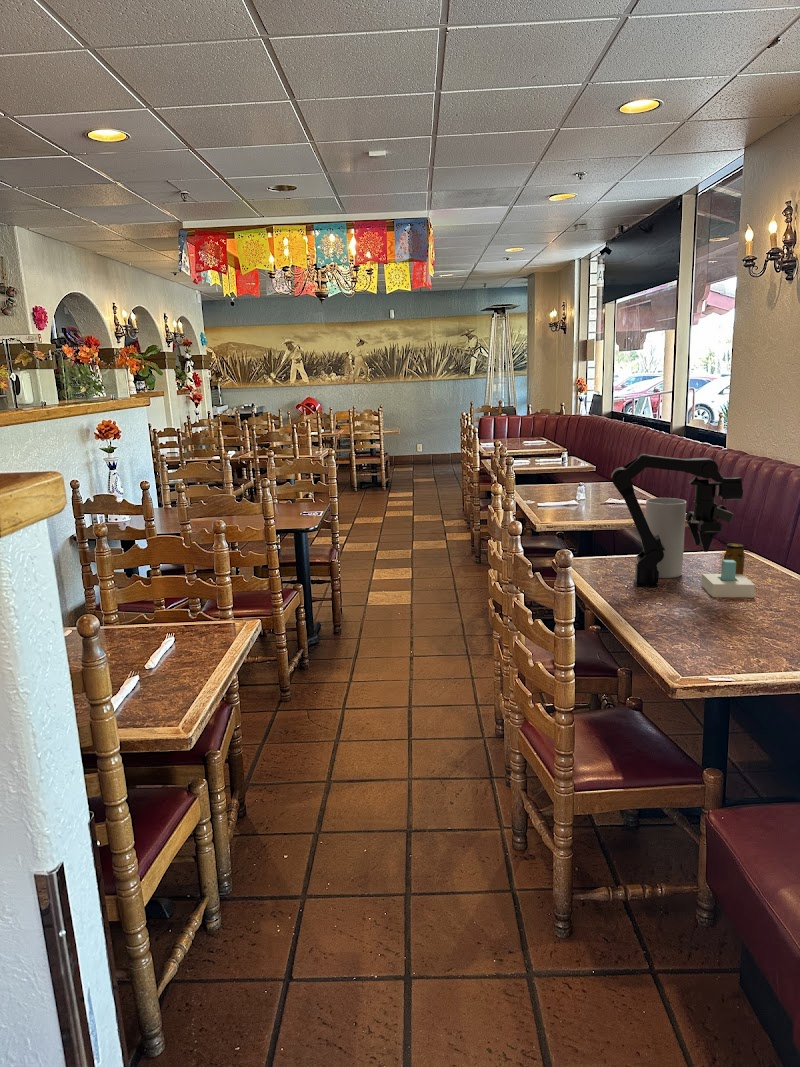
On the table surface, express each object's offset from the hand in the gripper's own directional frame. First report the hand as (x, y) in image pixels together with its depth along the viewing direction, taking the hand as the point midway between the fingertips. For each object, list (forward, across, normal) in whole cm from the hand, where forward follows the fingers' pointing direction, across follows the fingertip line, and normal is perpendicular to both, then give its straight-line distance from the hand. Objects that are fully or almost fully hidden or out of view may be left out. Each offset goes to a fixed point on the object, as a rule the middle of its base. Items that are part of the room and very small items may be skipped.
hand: (701, 548), depth 229 cm
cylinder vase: (+13, +15, +8) cm, 21 cm away
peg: (+12, -5, -7) cm, 15 cm away
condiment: (+13, +7, -13) cm, 20 cm away
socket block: (+12, -5, -7) cm, 15 cm away
